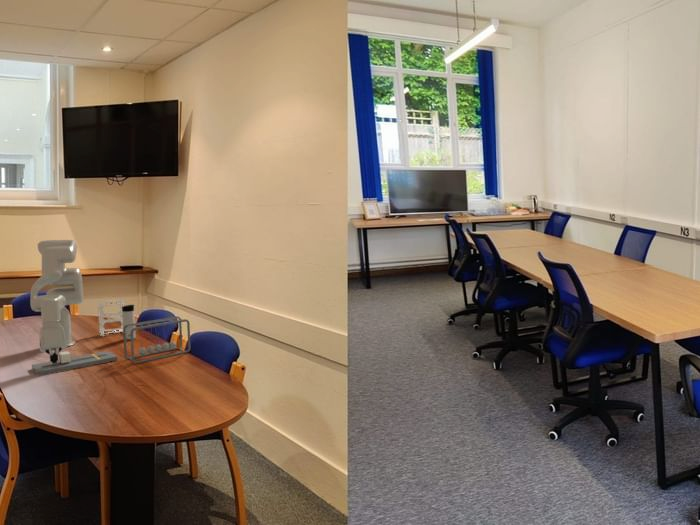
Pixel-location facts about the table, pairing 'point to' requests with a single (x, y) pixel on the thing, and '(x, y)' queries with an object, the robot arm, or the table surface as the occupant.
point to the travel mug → (128, 320)
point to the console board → (74, 363)
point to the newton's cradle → (158, 346)
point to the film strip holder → (102, 321)
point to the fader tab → (65, 357)
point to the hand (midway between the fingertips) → (54, 362)
